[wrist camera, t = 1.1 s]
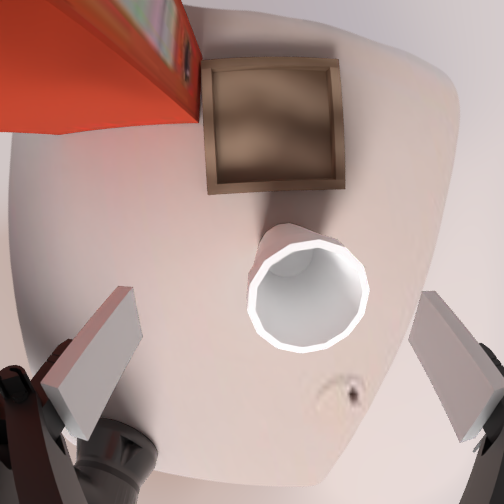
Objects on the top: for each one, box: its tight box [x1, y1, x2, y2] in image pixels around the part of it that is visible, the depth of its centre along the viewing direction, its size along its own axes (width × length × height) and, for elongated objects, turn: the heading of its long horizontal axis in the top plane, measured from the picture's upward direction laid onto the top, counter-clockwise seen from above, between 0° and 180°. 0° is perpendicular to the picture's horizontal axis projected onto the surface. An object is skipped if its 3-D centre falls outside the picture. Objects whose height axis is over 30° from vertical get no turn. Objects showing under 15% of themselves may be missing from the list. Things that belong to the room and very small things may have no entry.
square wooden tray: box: [201, 57, 345, 195], centre depth 30 cm, size 14×14×2 cm
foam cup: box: [247, 223, 370, 353], centre depth 29 cm, size 10×9×13 cm
